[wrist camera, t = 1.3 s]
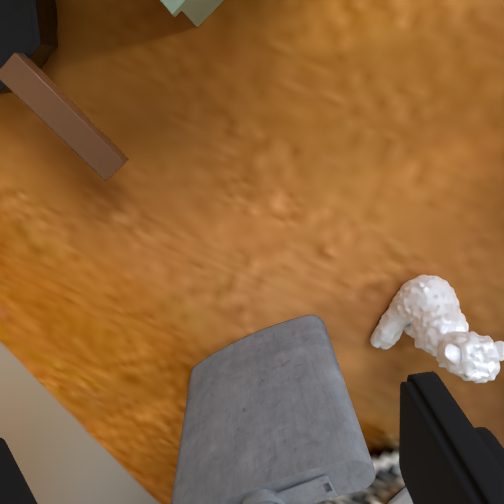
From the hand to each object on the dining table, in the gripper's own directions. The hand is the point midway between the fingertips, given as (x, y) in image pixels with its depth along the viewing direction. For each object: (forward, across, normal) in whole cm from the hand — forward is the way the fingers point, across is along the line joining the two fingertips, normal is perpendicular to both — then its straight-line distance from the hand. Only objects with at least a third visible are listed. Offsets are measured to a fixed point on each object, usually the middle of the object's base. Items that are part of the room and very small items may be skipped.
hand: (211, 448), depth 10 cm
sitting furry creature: (+29, -17, +16) cm, 38 cm away
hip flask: (+30, 0, +19) cm, 35 cm away
